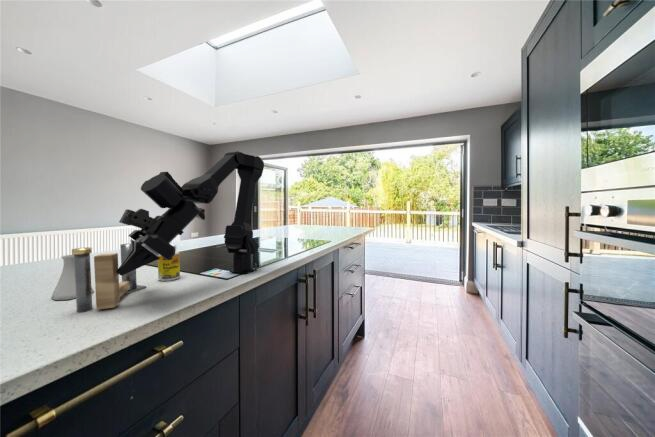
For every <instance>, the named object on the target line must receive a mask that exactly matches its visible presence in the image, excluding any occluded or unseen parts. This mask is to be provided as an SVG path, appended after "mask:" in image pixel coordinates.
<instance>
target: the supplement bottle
mask: <svg viewBox="0 0 655 437" xmlns="http://www.w3.org/2000/svg"><path fill="white" fill-rule="evenodd" d="M169 244H170V245H172V246H173V247H174V248H175V255H174V256H173V257H172V258H171V259H170V260H169V261H168V260H166V259H165V258H163V256H161V255H160V254H159V255H158V257H159V258H160V259H159V260H157V269H158V272H157V273H158V278H157V279H158V280H159V281H161V282H169V281H170V282H171V281H175V280H178V279H179V278H180V277H181V270H180V269H181V268H180V267H181V264H180V259H181V258H180V251H179V250H177V244H174V243H173V244H172V243H169Z"/></svg>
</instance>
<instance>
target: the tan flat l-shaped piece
mask: <svg viewBox="0 0 655 437" xmlns="http://www.w3.org/2000/svg"><path fill="white" fill-rule="evenodd" d="M93 264H94V268H93V269H94V285H95V286H94V287H95V304H96V306H95V308H96V310H97V311H98V310H105V309H112V308H116V306H118V305H119V304H120V303H121V301H120V300H121V299H120V298H121V297H122V296H123V295H124V293H125V292H127V291H128V290H129V289H130V281H122V280H121V281H120V275H119V274H118V273H117V270H118V269H119V253H117V252H115V253H100V254H98V255H95V256H93Z"/></svg>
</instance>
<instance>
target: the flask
mask: <svg viewBox="0 0 655 437" xmlns="http://www.w3.org/2000/svg"><path fill="white" fill-rule="evenodd" d="M61 259H63V266H62V270H61V271H62V272H61V274H60V276H59V279H58V281H57V284H56V286H55V288H54V290H53V292H52V295H51V297H50V298H51V299H52V300H54V301H61V300H62V301H63V300H64V301H65V300H66V301H67V300H73V299H76V285H75V266H74V255H72V254H65V255H61ZM91 288H92V294H93V293H94V292H95V291H94V289H93V286H91Z"/></svg>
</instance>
